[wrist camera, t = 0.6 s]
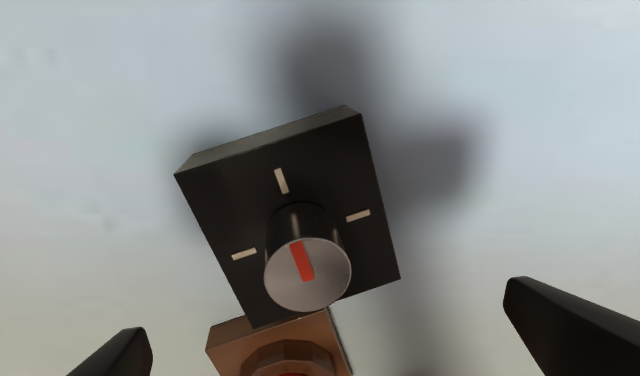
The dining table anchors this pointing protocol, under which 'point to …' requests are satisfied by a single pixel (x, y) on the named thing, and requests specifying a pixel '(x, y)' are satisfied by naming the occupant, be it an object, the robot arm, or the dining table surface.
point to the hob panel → (290, 201)
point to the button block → (278, 347)
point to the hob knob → (305, 258)
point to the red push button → (293, 374)
